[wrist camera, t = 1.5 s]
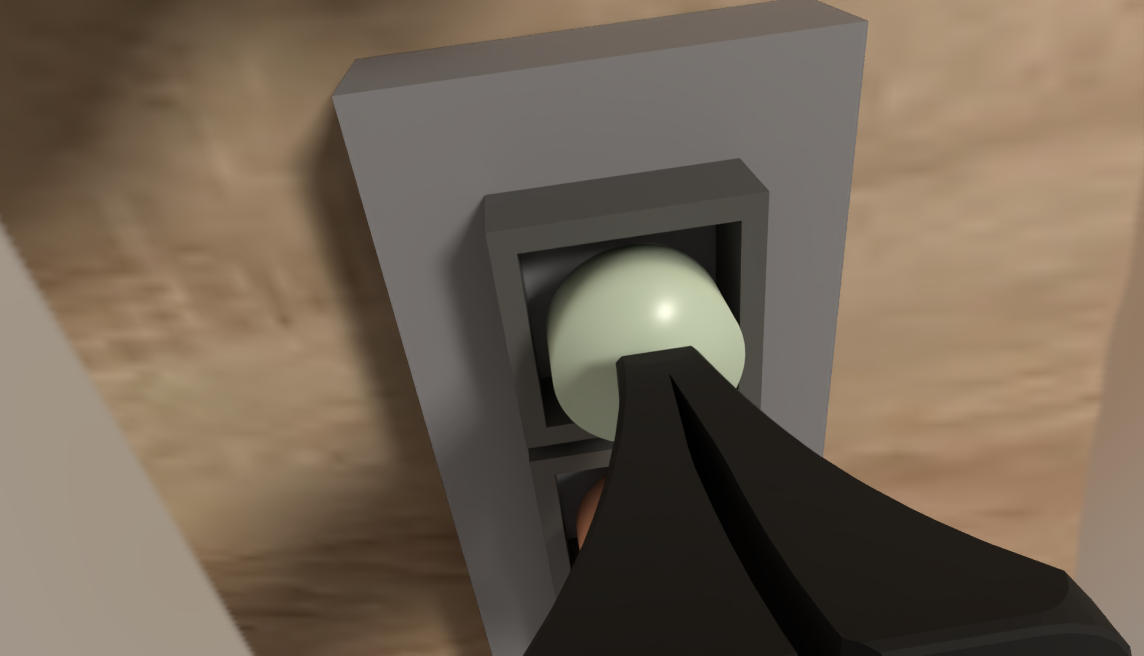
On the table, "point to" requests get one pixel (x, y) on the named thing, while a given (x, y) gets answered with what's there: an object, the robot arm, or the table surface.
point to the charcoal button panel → (598, 238)
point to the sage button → (632, 325)
